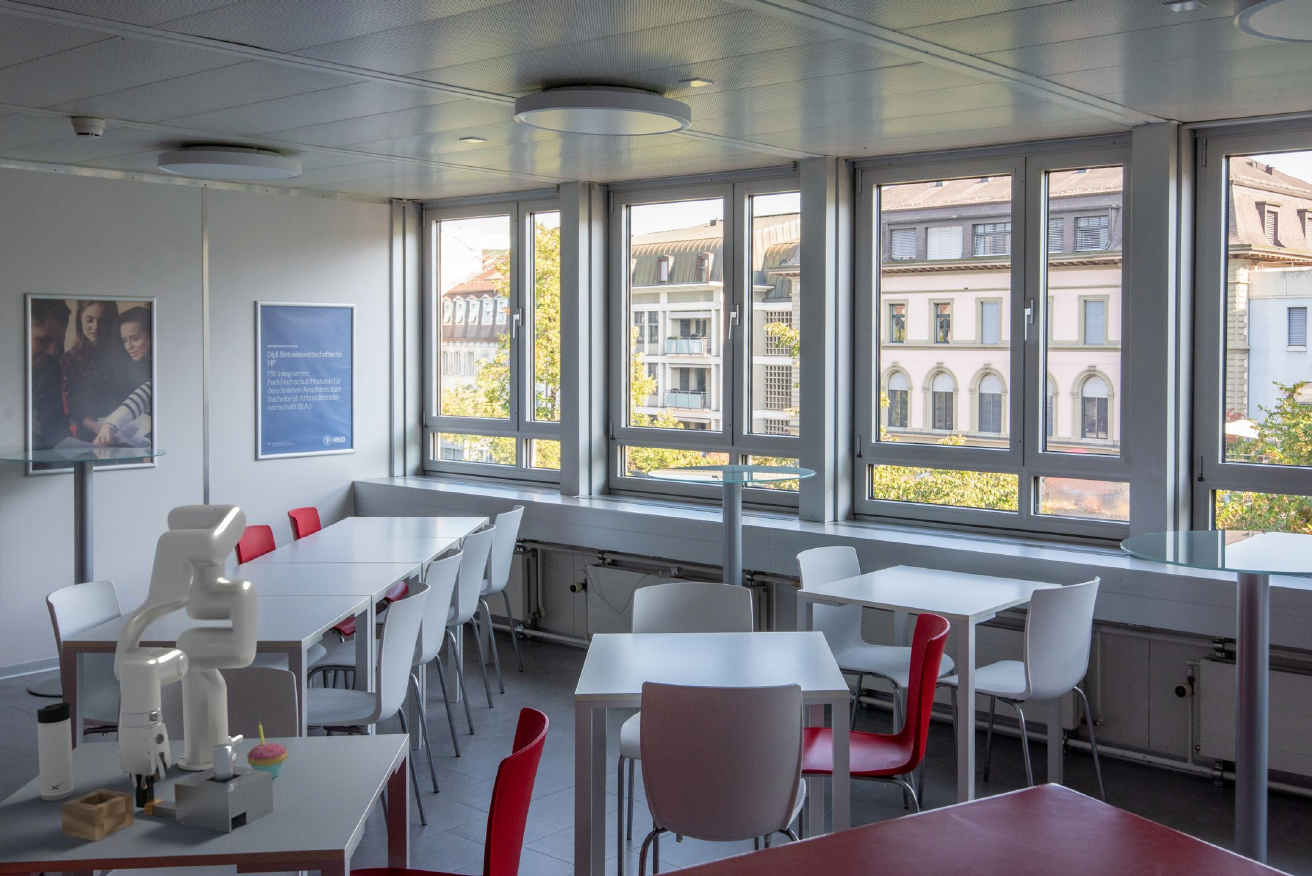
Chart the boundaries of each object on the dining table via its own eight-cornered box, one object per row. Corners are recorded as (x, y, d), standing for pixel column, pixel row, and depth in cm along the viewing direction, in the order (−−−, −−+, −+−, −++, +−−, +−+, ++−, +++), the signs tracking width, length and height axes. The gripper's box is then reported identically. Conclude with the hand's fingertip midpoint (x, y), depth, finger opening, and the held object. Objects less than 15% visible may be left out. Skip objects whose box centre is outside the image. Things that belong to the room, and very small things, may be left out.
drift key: (157, 808, 231) (157, 798, 231) (216, 819, 225) (216, 809, 225) (145, 814, 228) (144, 804, 228) (204, 825, 222) (203, 814, 222)
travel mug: (61, 802, 236) (56, 708, 235) (33, 800, 237) (29, 707, 236) (81, 791, 242) (77, 700, 241) (55, 789, 243) (51, 699, 242)
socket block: (221, 801, 234) (219, 764, 234) (273, 810, 229) (271, 772, 229) (176, 822, 223) (174, 783, 223) (229, 832, 218) (228, 792, 218)
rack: (101, 817, 227) (100, 788, 227) (134, 823, 223) (132, 794, 223) (62, 834, 219) (61, 804, 218) (95, 841, 215) (94, 810, 215)
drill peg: (224, 795, 228) (222, 742, 228) (238, 798, 227) (235, 744, 226) (211, 801, 225) (208, 748, 224) (224, 804, 224) (222, 750, 223)
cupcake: (239, 779, 248) (237, 726, 247) (266, 767, 255) (264, 715, 255) (270, 784, 244) (268, 730, 244) (296, 771, 252) (294, 719, 252)
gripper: (183, 716, 230) (186, 804, 230) (130, 709, 236) (134, 794, 236) (153, 726, 223) (157, 817, 224) (100, 719, 229) (103, 807, 230)
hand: (145, 805), depth 230 cm, fingers closed
